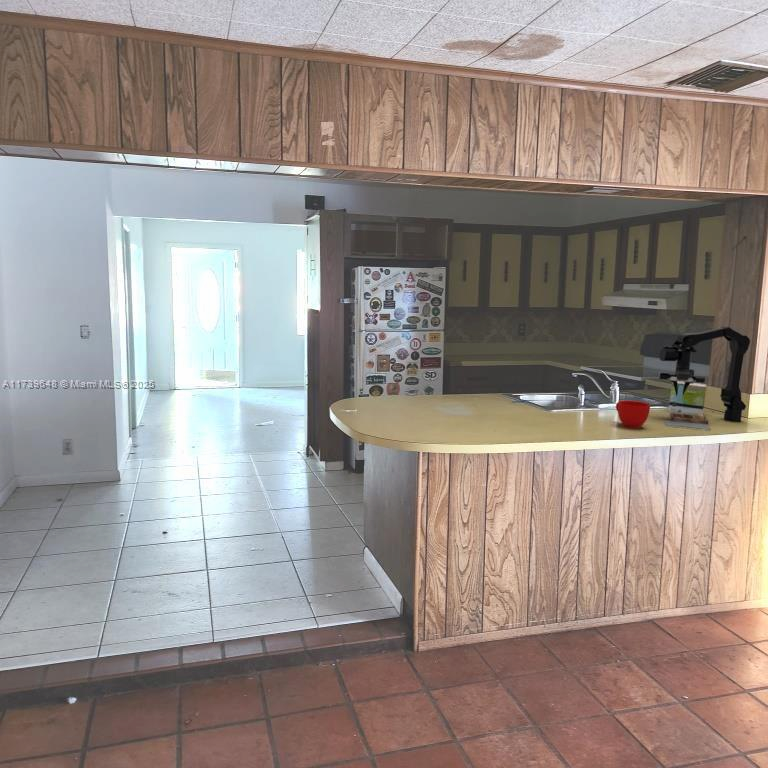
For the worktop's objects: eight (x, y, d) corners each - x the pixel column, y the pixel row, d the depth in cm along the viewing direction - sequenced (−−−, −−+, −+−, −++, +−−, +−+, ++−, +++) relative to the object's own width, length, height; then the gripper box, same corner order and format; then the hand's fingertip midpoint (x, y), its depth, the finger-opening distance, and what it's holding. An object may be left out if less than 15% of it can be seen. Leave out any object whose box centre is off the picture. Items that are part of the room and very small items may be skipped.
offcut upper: (701, 416, 305) (702, 413, 305) (703, 419, 299) (703, 416, 299) (693, 416, 306) (693, 412, 306) (694, 418, 301) (695, 415, 300)
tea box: (667, 412, 323) (671, 382, 320) (669, 409, 332) (673, 380, 329) (702, 417, 316) (706, 386, 314) (703, 413, 325) (707, 383, 322)
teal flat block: (680, 400, 307) (682, 383, 306) (681, 402, 301) (683, 385, 300) (675, 400, 308) (677, 382, 307) (676, 402, 302) (678, 385, 300)
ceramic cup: (626, 420, 301) (629, 398, 299) (654, 429, 285) (657, 405, 283) (603, 421, 296) (605, 399, 294) (630, 430, 280) (632, 407, 279)
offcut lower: (702, 419, 306) (702, 416, 305) (703, 422, 299) (703, 419, 299) (692, 418, 307) (692, 415, 307) (693, 421, 300) (694, 418, 300)
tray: (704, 420, 307) (705, 416, 307) (707, 425, 296) (708, 421, 296) (669, 416, 312) (670, 412, 312) (671, 421, 301) (671, 417, 301)
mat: (708, 426, 294) (708, 424, 294) (710, 431, 285) (711, 429, 285) (664, 422, 300) (664, 420, 300) (665, 426, 291) (665, 424, 291)
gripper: (661, 361, 297) (657, 396, 300) (708, 365, 291) (703, 400, 294) (660, 359, 308) (657, 392, 310) (705, 362, 301) (701, 396, 304)
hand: (679, 395), depth 304 cm, fingers closed on teal flat block, 2 cm apart
